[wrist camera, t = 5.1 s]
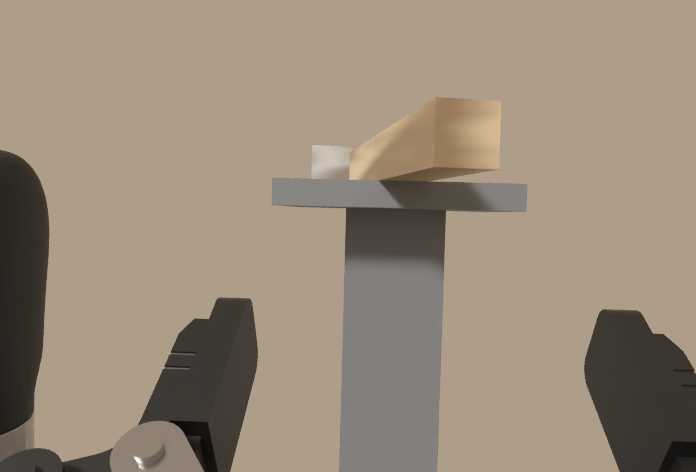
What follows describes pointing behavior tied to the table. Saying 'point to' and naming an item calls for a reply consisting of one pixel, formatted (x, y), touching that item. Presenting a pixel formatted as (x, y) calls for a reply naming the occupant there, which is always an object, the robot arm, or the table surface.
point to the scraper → (421, 145)
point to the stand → (393, 308)
